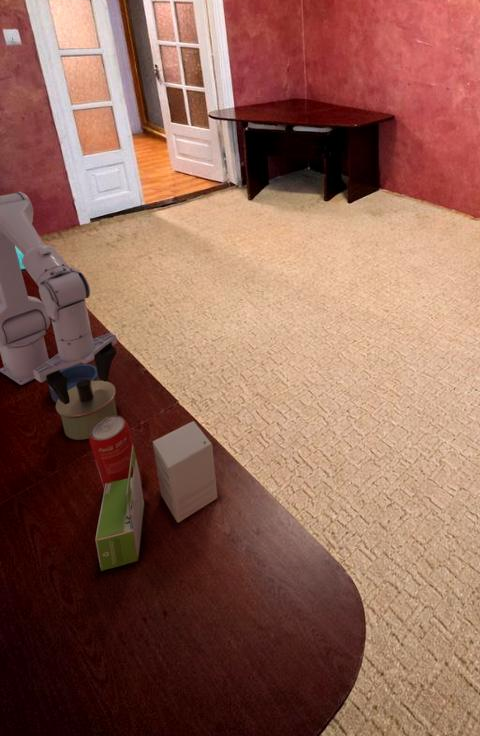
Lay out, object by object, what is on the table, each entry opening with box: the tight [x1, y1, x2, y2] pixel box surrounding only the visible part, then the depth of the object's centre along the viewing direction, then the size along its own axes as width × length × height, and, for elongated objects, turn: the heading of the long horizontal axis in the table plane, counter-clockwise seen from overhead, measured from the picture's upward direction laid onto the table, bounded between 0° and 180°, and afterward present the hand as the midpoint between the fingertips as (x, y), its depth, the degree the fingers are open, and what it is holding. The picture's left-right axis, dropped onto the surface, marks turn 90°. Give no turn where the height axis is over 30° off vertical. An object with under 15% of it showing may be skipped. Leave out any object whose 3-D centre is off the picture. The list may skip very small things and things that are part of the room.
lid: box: [55, 379, 117, 418], centre depth 97 cm, size 10×10×5 cm
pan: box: [48, 363, 101, 404], centre depth 107 cm, size 9×9×4 cm
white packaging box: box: [152, 420, 218, 524], centre depth 83 cm, size 7×7×13 cm
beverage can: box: [88, 415, 143, 490], centre depth 83 cm, size 6×6×15 cm
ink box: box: [95, 443, 145, 572], centre depth 75 cm, size 10×5×14 cm, turn 22°
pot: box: [60, 397, 118, 441], centre depth 98 cm, size 9×9×6 cm
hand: (84, 390), depth 97 cm, fingers open, 7 cm apart
